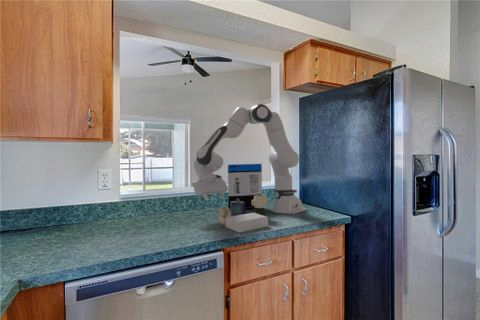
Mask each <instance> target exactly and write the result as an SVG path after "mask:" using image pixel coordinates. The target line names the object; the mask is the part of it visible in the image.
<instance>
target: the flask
mask: <svg viewBox="0 0 480 320" xmlns="http://www.w3.org/2000/svg"><path fill="white" fill-rule="evenodd" d="M236 200H237V202H235V201H231V202H230V217H231V216H237V215H243V214H246V210H245V203H244V202H243V201H242V202H240V201H239V199H236Z"/></svg>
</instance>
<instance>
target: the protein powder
mask: <svg viewBox="0 0 480 320" xmlns="http://www.w3.org/2000/svg"><path fill="white" fill-rule="evenodd" d="M262 166H263V165H262V163H251V164H250V163H247V164H246V163H242V164H234V163H233V164H227V186H228V190H227V191H228V192H227V194H228V198H227V199H228V201H227V202H228V203H227V204H228V205H227V206H228V207H227V208H228V209H230V202H231V201H235V202H237V200H236V199H239V201H240V202H242V201H243V202H244V203H245V211H251V210H256V207H254V206H252V200H254V196H255V195H263V192H262V190H263V188H262V187H263V184H262V183H263V180H262V179H263V172H262V171H263V170H262V169H263V167H262ZM253 204H254V201H253Z"/></svg>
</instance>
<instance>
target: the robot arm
mask: <svg viewBox="0 0 480 320" xmlns="http://www.w3.org/2000/svg"><path fill="white" fill-rule="evenodd" d="M248 123H249V124H255V125H257V124H263V126H264V128H265V132H266V136H267V138H268V143H269V144H270V146H271V147H272V148H273V149H274V151H272V152H271V153H270V154H269V156H268V162H269V163H270V165H271V167H272V171H273V177H274V188H273V196H274V198H273V207H272V210H271V211H272V212H273V213H277V214H290V215H291V214H293V215H294V214H298V213H301V212H305V211H306V210H307V208H305V207H304V206H303V203H302V200H301V199H300V198H299V197H297V195H295V194H296V193H297V192H298V190H297V189H293V177H292V175H291V172H290V171H289V169H290V168H293V167H296V166H298V165H299V162H300V157H299V154H298V152H296V151H295V150H294V149H293V148H292V146H291V144H290V142H289V140H288V138H287V134H286V131H285V127H284V124H283V121H282V119H281V117H280V115H279V113H277V112H276V111H271V109H269V107H268V106H267V105H266V104H262V103H258V104H255V105H252V106H251V107H250V108H245V107H242V106H238V107H237V108H235V110H234V111H233V112H232V113H231V115H230V116H229V118H228V119H227V121H226V122H225V124H224V123H223V125H220V126H219V127H218V128H217V129H216V130H215V131H214V132H213V134H212V135H211V136H210V137H209V138H208V140H207V141H206V142H205V143H204V145H202V147H200V148H199V149H198V151H197V152H196V158H195V159H194V161H193V167H194V168H193V169H194V171H195V174H196V175H197V176H198V177H197V178H198V180H193V181H192V183H191V185H192V188H193V191H194V194H195V196H202V197H203V198H204V199H205V201H210V199H211V198H210V196H209V195H215V194H216V195H217V194H220V197H219V198H220V199H221V200H223V199H225V193H227V191H228V183H227V182H226V181H225V180H224V179H223V176H222V175H220V174H215V172H217V171H219V170H220V169H221V168H222V167H223V164H224V159H223V157H222V156H221V155H220V154H218V153H216V152H214V151H215V149H216V148H217V146H218V145H219V144H220V142H221V141H222V140H224V139H236V138H238V137H239V136H240V135H241V134H242V132H244V130H245V128H246V126H247V125H248Z"/></svg>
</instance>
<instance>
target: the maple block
mask: <svg viewBox="0 0 480 320" xmlns="http://www.w3.org/2000/svg"><path fill="white" fill-rule="evenodd" d="M218 215H219V216H218V217H219V219H218V220H219V224H220V225H223V226H226V218H227V217H231V216H230V209H228V207H219V214H218Z"/></svg>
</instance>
